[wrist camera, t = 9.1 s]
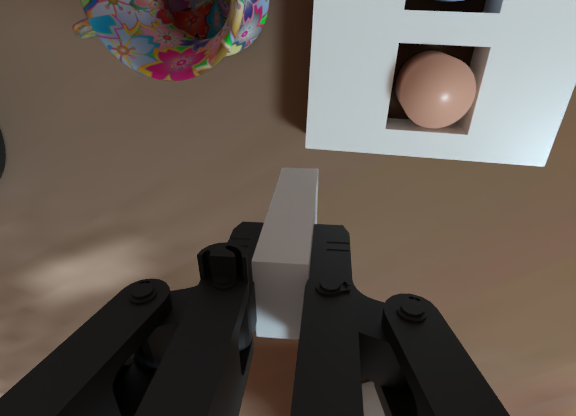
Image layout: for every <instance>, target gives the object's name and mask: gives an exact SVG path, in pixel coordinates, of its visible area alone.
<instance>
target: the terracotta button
mask: <svg viewBox="0 0 576 416" xmlns="http://www.w3.org/2000/svg"><path fill="white" fill-rule="evenodd" d="M395 90H396V95H397V98H398V100H399V102H400V104H401V106H402V107H403V109H404V111H405V113H406V114H407V116H408V117H409V118H410V119H411V120H412V121H413V122H414V123H416V124H417V125H419V126H422V127H425V128H442V127H446V126H449V125H451V124H453V123H455V122H456V121H458V120H459V119H460V118H462V117H463V116H464V115H465V114H466V112H467V111H468V110H469V108H470V107H471V105H472V103H473V101H474V98H475V93H476V81H475V77H474V74H473V72H472V71H471V69H470V68H469V67H468V65H466V64H465V63H464V62H463V61H461V60H459V59H457V58H454V57H452V56H450V55H447V54H445V53H443V52H440V51H424V52H421V53H418V54H416V55H414V56H413V57H411V58H410V59H409V60H408V61H407V62H405V64H404V65H403V66H402V68H401V69H400V71H399V73H398V75H397V78H396V84H395Z"/></svg>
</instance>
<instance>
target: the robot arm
mask: <svg viewBox="0 0 576 416" xmlns="http://www.w3.org/2000/svg"><path fill="white" fill-rule="evenodd" d="M5 159H6V154H5V145H4V140H3V136H2V133H1V130H0V178H1V176H2V173H3V171H4V167H5ZM317 198H318V169H309V168H282V170H281V173H280V176H279V179H278V182H277V185H276V188H275V191H274V194H273V197H272V200H271V203H270V206H269V209H268V212H267V215H266V219H265V222H264V223H259V222H242V223H241V224H239V225H238V226H237V227H236V228H234V229H233V232H232V234H231V236H230V239H229V240H228V242H227V243H217V244H213V245H209V246H207V247H206V248H204V249H202V250H201V251H200V252H199V253H198V254H197V259H198V265H199V272H200V279H201V280H200V282H199V284H198V285H197V286H195V287H191V288H187V289H181V290H175V291H170V288H169V286H168V285H167V283H166V282H164V281H162V280H159V279H145V280H140V281H137V282H134V283H132V284H130V285H128V286H127V287H125V288H124V289H123V290H121V291H120V292H119V293H118V294H117V295H116V296H115V297H114V298H112V299H111V300H110V301H109V302H108V303H107V304H106V305H105V306H103V307H102V308H101V309H100V310H99V311H98V312H97V313H96V314H94V315H93V316H92V317H91V318H90V319H89V320H88V321H87V322H85V323H84V324H83V325H82V326H81V327H80V328H79V329H77V330H76V331H75V332H74V333H73V334H72V335H71V336H70V337H68V338H67V339H66V340H65V341H64V342H63V343H62V344H61V345H59V346H58V347H57V348H56V349H55V350H54V351H53V352H52V353H50V354H49V355H48V356H47V357H46V358H45V359H44V360H43V361H41V362H40V363H39V364H38V365H37V366H36V367H35V368H34V369H32V370H31V371H30V372H29V373H28V374H27V375H26V376H24V377H23V378H22V379H21V380H20V381H19V382H18V383H17V384H15V385H14V386H13V387H12V388H11V389H10V390H9V391H8V392H6V393H5V394H4V395H3V396H2V397H1V398H0V416H239V411H240V407H241V403H242V398H243V394H244V390H245V386H246V381H247V377H248V373H249V368H250V364H251V360H252V355H253V335H254V331H255V327H256V335H257V337H269V338H282V339H294V340H299V344H298V353H297V362H296V371H295V380H294V389H293V398H292V407H291V416H364V410H363V395H362V380H361V377H362V378H364V379H367V380H369V381H372V382H374V387H375V390H376V392H377V395H378V398H379V401H380V403H381V406H382V409H383V411H384V414H385V416H510V415H509V414H508V412H507V411H506V409H505V408H504V406H503V405H502V403H501V402H500V400H499V399H498V397H497V396H496V394H495V393H494V392H493V390H492V389H491V387H490V386H489V384H488V383H487V381H486V380H485V378H484V377H483V375H482V374H481V372H480V371H479V369H478V368H477V366H476V365H475V364H474V362H473V361H472V359H471V358H470V356H469V355H468V353H467V352H466V350H465V349H464V347H463V346H462V344H461V343H460V341H459V340H458V339H457V337H456V336H455V334H454V333H453V331H452V330H451V328H450V327H449V325H448V324H447V322H446V321H445V319H444V318H443V316H442V315H441V313H440V312H439V311H438V309H437V308H436V307H435V306H434V305H433V304H432V303H431V302H430V301H428V300H426V299H424V298H422V297H420V296H416V295H413V294H397V295H394V296H391V297H390V298H389V299H387V300H386V302H385V303H384V302H380V301H377V300H374V299H371V298H369V297H367V296H365V295H363V294H362V293H360V292H359V291H358V290H357V289H356V287H355V286H354V284H353V281H352V268H351V253H350V237H349V233H348V231H347V230H346V229H345V228H344V226H343V225H324V224H317Z"/></svg>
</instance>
